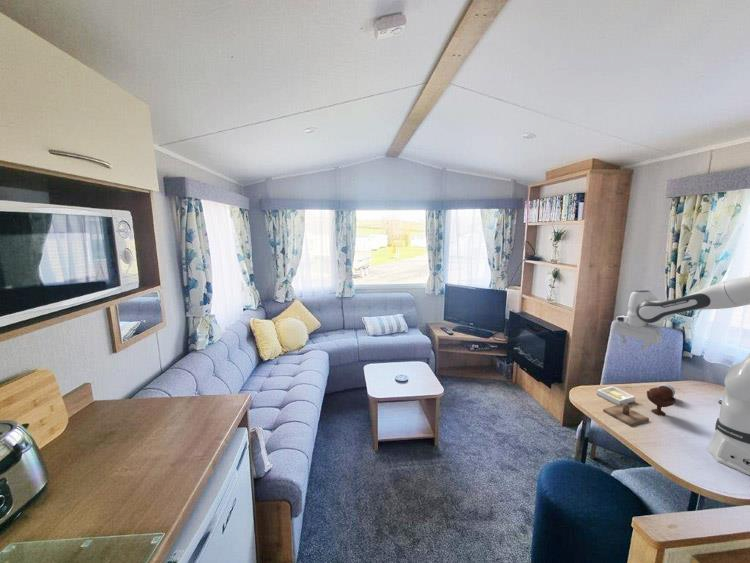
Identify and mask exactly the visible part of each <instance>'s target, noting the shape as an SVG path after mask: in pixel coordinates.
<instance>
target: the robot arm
mask: <svg viewBox="0 0 750 563" xmlns="http://www.w3.org/2000/svg"><path fill="white" fill-rule="evenodd" d="M628 298H629V300H628V304H627V308H628V310H627V313H626V314H625V315H619V316H616V317H615V321H614V323H613V327H612V331H613V332H614V333H616V334H619V337H620V338H621V343H622V344H627V341H628V340H627V339H626V337H628V338H631V339H636V340H638V341H642V342H644V345H641V350H643V351H646V350H648V347H649V346H650V345H657V344H659V343H661V332H662V329H661V327H659V326H658V325H655V324H652V323H656V322H659V321H664V320H667V319H671V318H673V317H674V316H675V315H676V314H680V313H686V312H690V311H700V310H701V311H702V310H722V309H733V308H739V307H743V306H747V305H750V276H745V277H744V276H742V277H737V278H733V279H727V280H725V281H721V282H717V283H714V284H712V285H709V286H708V287H704V288H703V289H699V290H697V291H694V292H693V293H690V294H688V295H684V296H681V297H678V298H677V297H676V298H673V299H669V300H667V299H665V298H662V297H659V296H658V295H656V294H654V293H653V292H652V291H651V290H646V289H645V290H643V289H642V290H634V291H632V292H631V293H630V295H629V297H628ZM727 371H728V372H727V374H726V376H725V378H724V380H723V381H724V387H725V388H724V391H723V397H722V400H721V405H720V410H719V416H718V418H717V419H716V422H715V427H714V429H715V433H714V435H713V437H712V440H711V441H710V443H709V444H708V445H707V450H708V451H709V452H710V453H711V454H712V455H713V456H714V458H715V461H717V462H718V463H720V464H722V465H724V466H727V467H729V468H732V469H733V470H736V471H739V472H740V473H743V474H746V475H748V476H750V353H749V354H747V356H746V357H745V358H744V359H743V360H742V361H741V362H739V363H735V364H733V365H732V366H730V368H729V369H728V370H727Z"/></svg>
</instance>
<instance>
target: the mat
mask: <svg viewBox="0 0 750 563" xmlns="http://www.w3.org/2000/svg"><path fill="white" fill-rule="evenodd" d="M603 413H606V414H607V415H609V416H611V417H613V418H615V419H616V420H618V421H621V420H620V419H618V418H616V417H614V416H612V415H610V414H609V413H607V412H605V411H603ZM648 421H649V420H647V421H643V422H640V423H637V424H634V425H639V424H641V423H646V422H648ZM621 422H622V423H624V424H626V425H627V426H629V427H633V426H634V425H629V424H627V423H625V422H623V421H621Z"/></svg>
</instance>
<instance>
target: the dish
mask: <svg viewBox="0 0 750 563" xmlns="http://www.w3.org/2000/svg"><path fill="white" fill-rule="evenodd" d="M596 395H597V396H599V397H601V398H603V399H604V400H606V401H607V402H611V403H613V404H615V406H617V405H620V404H621V405H623V403H627V404H632V403H635V401H636V396H635V395H633V394H630V393H628V392H626V391H624V390H622V389H620V388H617V387H615V386H607V387H603V388H600V389H597V391H596Z"/></svg>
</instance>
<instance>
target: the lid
mask: <svg viewBox="0 0 750 563" xmlns="http://www.w3.org/2000/svg"><path fill="white" fill-rule="evenodd" d="M602 411H603V412H604V411H605V412H607V413H609V414H610V415H609V414H608V415H609V416H611V415H612V416H611V417H613V416H614V417H613V418H615V417H616V418H618V419H620V420H621V422H622V421H623V422H622V423H624V422H625V423H624V424H626V423H627V424H629V425H632V426H634V424H635V425H638V424H637V423H639V424H641V423H640V422H642V423H644V422H643V421H645V422H648V421H649V420H650V418H649V417H647V416H645V415H644V414H641V413H640V412H638V411H636V410H633V409H631V404H630V403H628V404H627V403H623V405H621V404H620V405H614V406H610V407H606V408H603V410H602ZM605 412H604V413H605ZM607 413H606V414H607ZM616 418H615V419H616ZM618 419H617V420H618ZM620 420H619V421H620ZM647 420H648V421H647ZM627 424H626V425H627ZM629 425H628V426H629Z"/></svg>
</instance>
